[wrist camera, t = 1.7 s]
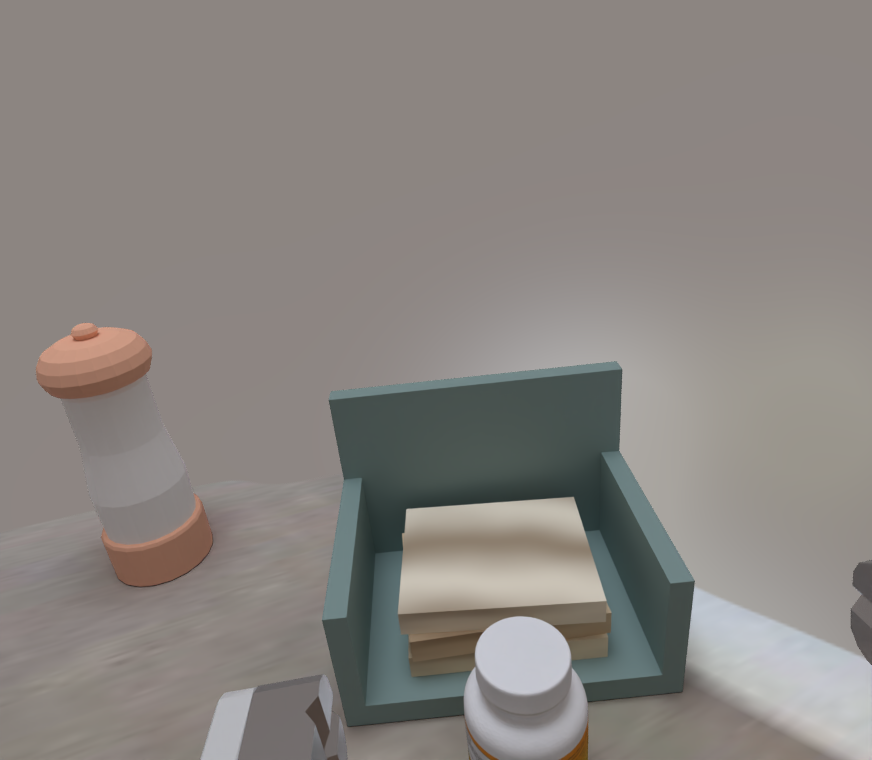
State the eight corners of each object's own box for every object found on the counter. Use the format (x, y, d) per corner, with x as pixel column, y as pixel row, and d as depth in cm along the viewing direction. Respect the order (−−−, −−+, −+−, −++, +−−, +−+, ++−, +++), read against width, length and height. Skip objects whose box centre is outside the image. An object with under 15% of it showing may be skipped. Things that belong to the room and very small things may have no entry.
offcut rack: (682, 691, 34) (705, 480, 28) (347, 726, 34) (298, 522, 28) (610, 533, 46) (616, 361, 40) (362, 559, 46) (330, 391, 40)
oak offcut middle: (610, 632, 34) (611, 612, 34) (413, 662, 34) (409, 642, 33) (564, 528, 42) (564, 510, 42) (404, 550, 42) (402, 533, 41)
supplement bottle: (591, 753, 31) (593, 612, 27) (582, 872, 27) (584, 724, 23) (486, 731, 33) (474, 594, 29) (461, 839, 28) (442, 696, 24)
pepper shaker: (103, 596, 45) (-3, 354, 37) (129, 532, 52) (44, 315, 43) (206, 575, 46) (125, 335, 38) (218, 516, 53) (152, 300, 44)
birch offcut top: (605, 621, 33) (606, 601, 32) (401, 634, 34) (397, 614, 33) (573, 515, 41) (573, 496, 41) (409, 527, 42) (406, 508, 41)
